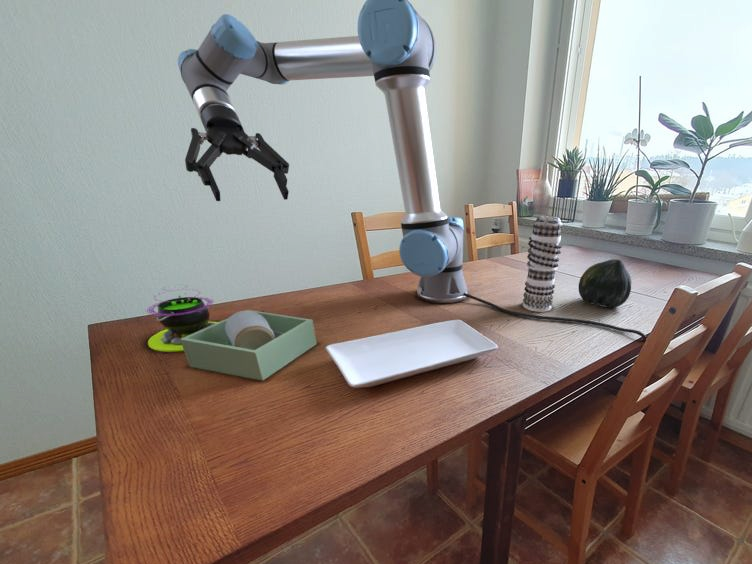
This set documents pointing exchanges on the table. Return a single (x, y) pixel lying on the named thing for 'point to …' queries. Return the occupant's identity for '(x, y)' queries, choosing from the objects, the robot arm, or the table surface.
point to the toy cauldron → (179, 321)
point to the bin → (221, 356)
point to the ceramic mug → (249, 330)
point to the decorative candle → (542, 263)
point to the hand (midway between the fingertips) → (254, 196)
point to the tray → (408, 352)
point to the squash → (606, 284)
